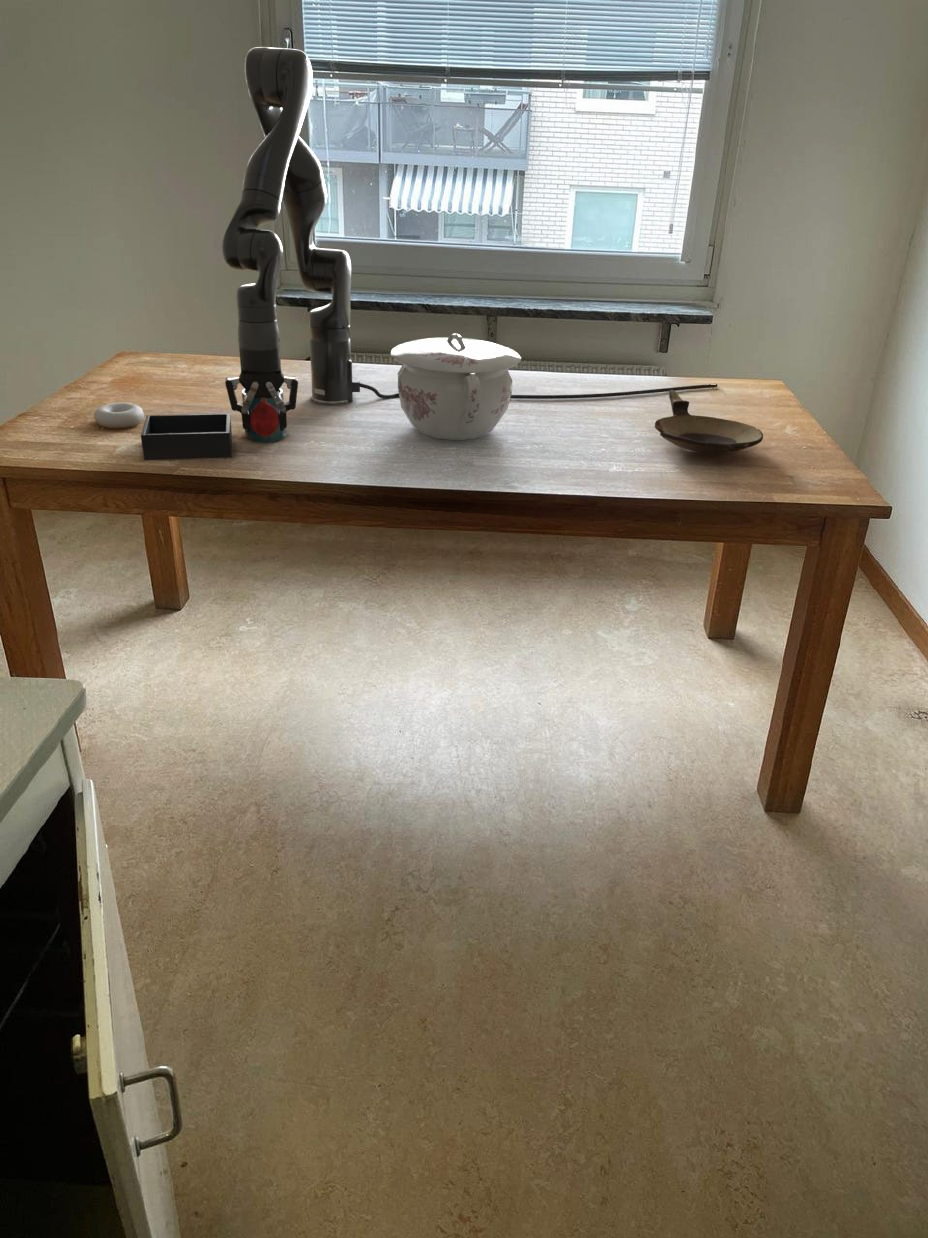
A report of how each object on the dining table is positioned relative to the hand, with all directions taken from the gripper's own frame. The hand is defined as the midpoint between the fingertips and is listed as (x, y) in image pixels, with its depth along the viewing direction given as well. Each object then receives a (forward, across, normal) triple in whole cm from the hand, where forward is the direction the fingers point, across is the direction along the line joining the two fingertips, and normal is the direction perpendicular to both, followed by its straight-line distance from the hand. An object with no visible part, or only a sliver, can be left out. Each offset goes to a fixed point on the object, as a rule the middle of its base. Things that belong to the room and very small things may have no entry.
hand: (265, 430), depth 176 cm
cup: (+5, 0, +10) cm, 11 cm away
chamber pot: (+5, +40, +10) cm, 42 cm away
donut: (+5, -30, +21) cm, 37 cm away
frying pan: (+5, +93, -4) cm, 93 cm away
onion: (+2, 0, 0) cm, 2 cm away
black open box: (+5, -15, +4) cm, 16 cm away
